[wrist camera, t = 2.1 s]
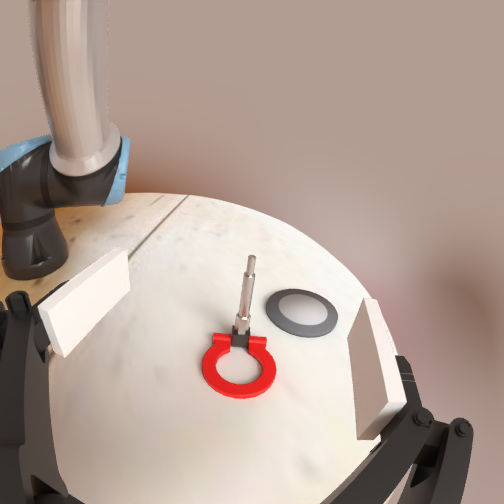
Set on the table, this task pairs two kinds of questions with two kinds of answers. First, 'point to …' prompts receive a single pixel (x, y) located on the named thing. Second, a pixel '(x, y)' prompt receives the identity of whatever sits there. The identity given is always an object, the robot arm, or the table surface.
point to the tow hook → (240, 339)
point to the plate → (302, 313)
